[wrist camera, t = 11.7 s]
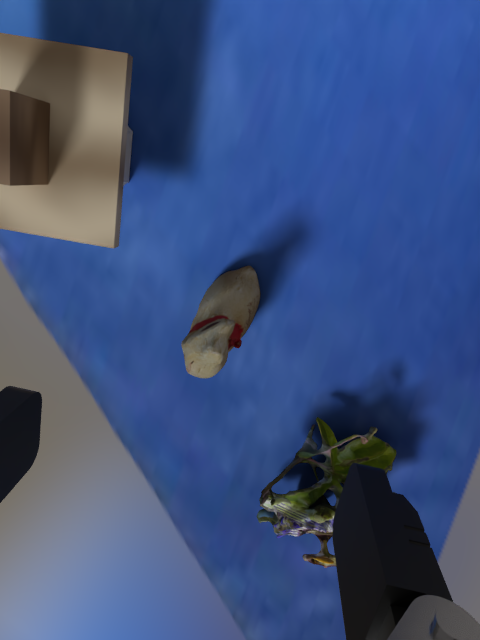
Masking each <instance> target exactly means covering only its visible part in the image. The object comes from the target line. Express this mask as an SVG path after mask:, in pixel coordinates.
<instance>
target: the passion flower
mask: <svg viewBox="0 0 480 640" xmlns="http://www.w3.org/2000/svg"><path fill="white" fill-rule="evenodd" d="M316 421H317V423H318V426H319V430H320V433H321V437H322V447H321V448H320V449H319V450H317V444H316V443H315V442H314V441H313V439H312V435H313V430H314V427H315V424H313V425H312V427H311V430H310V431H309V433H308V436H307V438H306V441H305V443H304V444H303V446H302V448H301V449H300V450H299V451H298V452H297V453H296V456H295V458H294V460H293V462H292V463H291V464H290V465H289V466H288V467H287V468H286V469H285V470H284V471H283V472H282V473H281V474H280V475H279V476H278V477H276V478H275V479H274V480H273V481H272V482H270V483H269V484H268V485H267V486H266V487H265V488H264V489H263V490H262V492H261V493H262V495H261V497H260V504H261V505H260V507H261V506H262V507H263V508H264V509H262V510H260V511H259V512H258V514H257V519H258V521H259V522H260V523H261V522H266V521H269V522H271V523H272V525H273V527H274V532H275V533H276V534H278V535H277V538H279V537H282V536H284V535H294V536H301V535H303V534H305V533H310V534H311V533H313V534H315V535H316V536H317V537H318V539H319V540H320V542H321V551H320V552H319V553H318V554H304V555H303V559H304V561H306V560H307V561H309V562H310V563H313V564H318V565H322V566H324V567H325V568H327V567H331V566H336V559H335V555H331V554H330V553H329V552H328V548H327V542H328V540H329V539H330V538H331V537H332V536H333V521H334V515H335V511H336V508H337V505H338V502H339V499H340V496H341V493H342V490H343V487H342V486H341V485H340V483H342V484H344V483H345V480H346V477H347V474H348V471H349V468H350V466H351V465H352V463H358V464H362V465H367V466H371V467H376V468H380V469H383V470H384V471H385V473H387V472H388V470H390V471H391V470H392V466H393V465H392V463H393V461H394V459H395V456H396V450H395V449H394V448H392V447H391V446H390V445H389V444H388V443H386V442H384V441H382V440H381V439H379V438H377V437H375V436H373V435H374V433H376V432H377V428H376V427H370V430H369V432H368V433H367V434H366V435H352V436H350V437H347V438H346V439H343V440H341V441H339V442H337V440H336V438H335V436H334V433H333V431H332V430H331V428H330V427H329V426H328V425H327V424H326V423H325V422H324V421H323V420H321V419H320V418H318V417H317V418H316ZM355 437H359V438H356V439H355V440H353V441H351V442H349V443H348V444H347V445H345V446H343V447H341V448H340V449H338V448H337V446H339V445H341V444H343V443H344V442H347V441H349V440H352V439H354V438H355ZM318 454H324V455H325V456H326V458H327V459H326V461H325V462H324V463H320V462H317V461H315V460H314V459H312V456H315V455H318ZM299 463H309V464H310V465H311V466H312V468H313V471H314V474H315V476H316V479H317V483H316V484H314V485H313V486H311V487H309V488H305V489H300V490H296V491H289V492H288V493H287V494H276V493H274V492H272V490H271V488H272V486H273V485H274V484H275V483H277V482H278V481H279V480H280V479H282V478H283V476H284V475H285V474H286V473H287V472H288V471H290V469H292V468H293V466H295V465H296V464H299ZM316 467H320V468H322V470H323V471H324V475H325V476H324V477H323V479H322V480H320V481H319V479H318V476H317V473H316ZM326 490H331V491H332V492H334V494H335V496H336V498H337V501H336V504H335V506H331V505H330V503H329V502H328V500H327V499H326V497H325V496H324V495H323V494H324V493H325V492H326ZM393 493H395V492H393Z"/></svg>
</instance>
